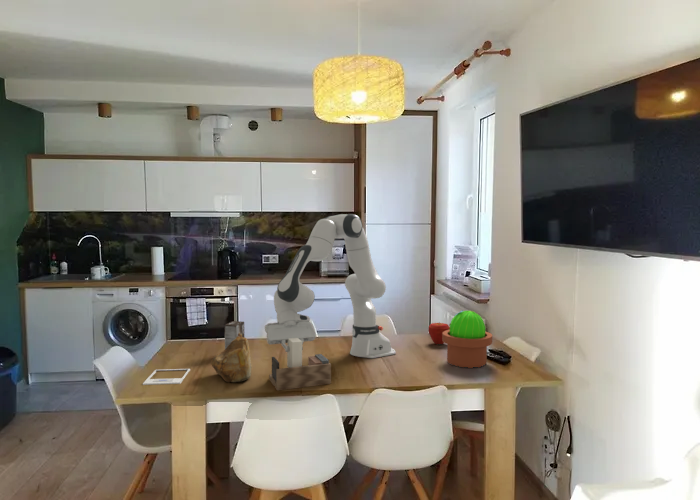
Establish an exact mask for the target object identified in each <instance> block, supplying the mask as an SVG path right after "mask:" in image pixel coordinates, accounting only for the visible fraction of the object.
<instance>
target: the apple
mask: <svg viewBox="0 0 700 500" xmlns="http://www.w3.org/2000/svg"><path fill="white" fill-rule="evenodd" d="M427 329H428V334H429V336H430V338H431V342H433V343H434V344H435V345H437V344H442V345H443V344H445V343H444V342H443V341H442V333H443V332H444V331H446V330H450V326H449V324H448V323H443V322H440V321H439V322H432V323H430V324H429V326H428V328H427Z"/></svg>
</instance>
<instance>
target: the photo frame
mask: <svg viewBox="0 0 700 500" xmlns="http://www.w3.org/2000/svg"><path fill="white" fill-rule="evenodd" d="M160 371H162V372H163V371H164V372H165V371H167V372H168V371H186V372H185V373H184V375H183V376H182V377H180V378H179V377H178V378H177V377H176V378H175V377H173V378H153V376H154V375H155V374H156V373H157V372H160ZM189 372H191V368H176V369H175V368H174V369H172V368H171V369H170V368H169V369H167V368H166V369H155V370H153V372H152V373H151V374H150V375H149V376H148V377H147V378H146V380H144V381H143V383H142V385H143V386H145V385H148V386H149V385H176V384H177V385H180V384H182V382H183V381H184V379H185V378H186V376H187V375H188V374H189Z"/></svg>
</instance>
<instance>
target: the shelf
mask: <svg viewBox="0 0 700 500" xmlns="http://www.w3.org/2000/svg"><path fill="white" fill-rule="evenodd" d="M307 361H308V365H302V366H300V367H291V368H288V367H285V368H280V361H278V360H277V358H276V357H275V356H271V374H269V375H268V378H269V379H270V380H269V381H270V382H271V384H272V386H273V387H274V386H275V387H274V388H275V389H276V391H282V390H290V389H291V390H292V389H299V388H307V387H313V386H314V387H315V386H322V385H323V386H324V385H330V384H332V364H331V363H330V360H329V359H328V358H327V357H325V356H324V355H323V354H322V353H317V354H314V355H312V356H308V360H307Z"/></svg>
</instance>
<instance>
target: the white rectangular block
mask: <svg viewBox="0 0 700 500" xmlns="http://www.w3.org/2000/svg"><path fill="white" fill-rule="evenodd" d="M286 345H287V346H289V348H290V351H289V352H286V354H287V357H286V361H287V363H286V366H287V367H286V368H291V367H300V366H303V350H302V347H303V345H302V341H301V340H300V339H299V338H289V339H288V340H287V343H286Z"/></svg>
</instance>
